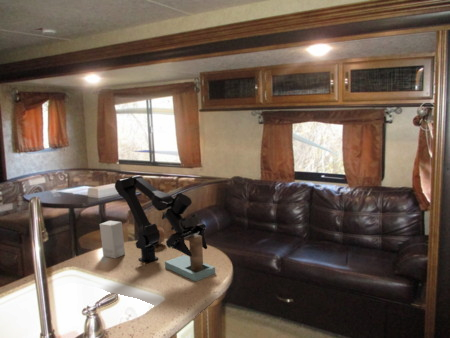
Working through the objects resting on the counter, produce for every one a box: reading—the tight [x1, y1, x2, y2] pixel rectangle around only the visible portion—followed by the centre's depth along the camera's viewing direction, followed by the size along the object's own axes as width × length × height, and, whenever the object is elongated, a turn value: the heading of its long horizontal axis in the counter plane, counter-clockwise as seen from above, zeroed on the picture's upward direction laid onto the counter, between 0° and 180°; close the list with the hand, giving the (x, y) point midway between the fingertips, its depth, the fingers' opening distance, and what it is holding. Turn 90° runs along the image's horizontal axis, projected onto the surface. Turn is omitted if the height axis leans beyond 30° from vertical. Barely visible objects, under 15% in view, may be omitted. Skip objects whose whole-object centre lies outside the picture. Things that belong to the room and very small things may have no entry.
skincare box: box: [99, 220, 126, 260], centre depth 163 cm, size 8×7×16 cm
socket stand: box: [164, 254, 216, 283], centre depth 144 cm, size 20×10×2 cm, turn 44°
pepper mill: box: [188, 235, 204, 273], centre depth 140 cm, size 5×5×15 cm
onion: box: [155, 224, 166, 246], centre depth 176 cm, size 10×9×10 cm
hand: (199, 252), depth 139 cm, fingers open, 9 cm apart
